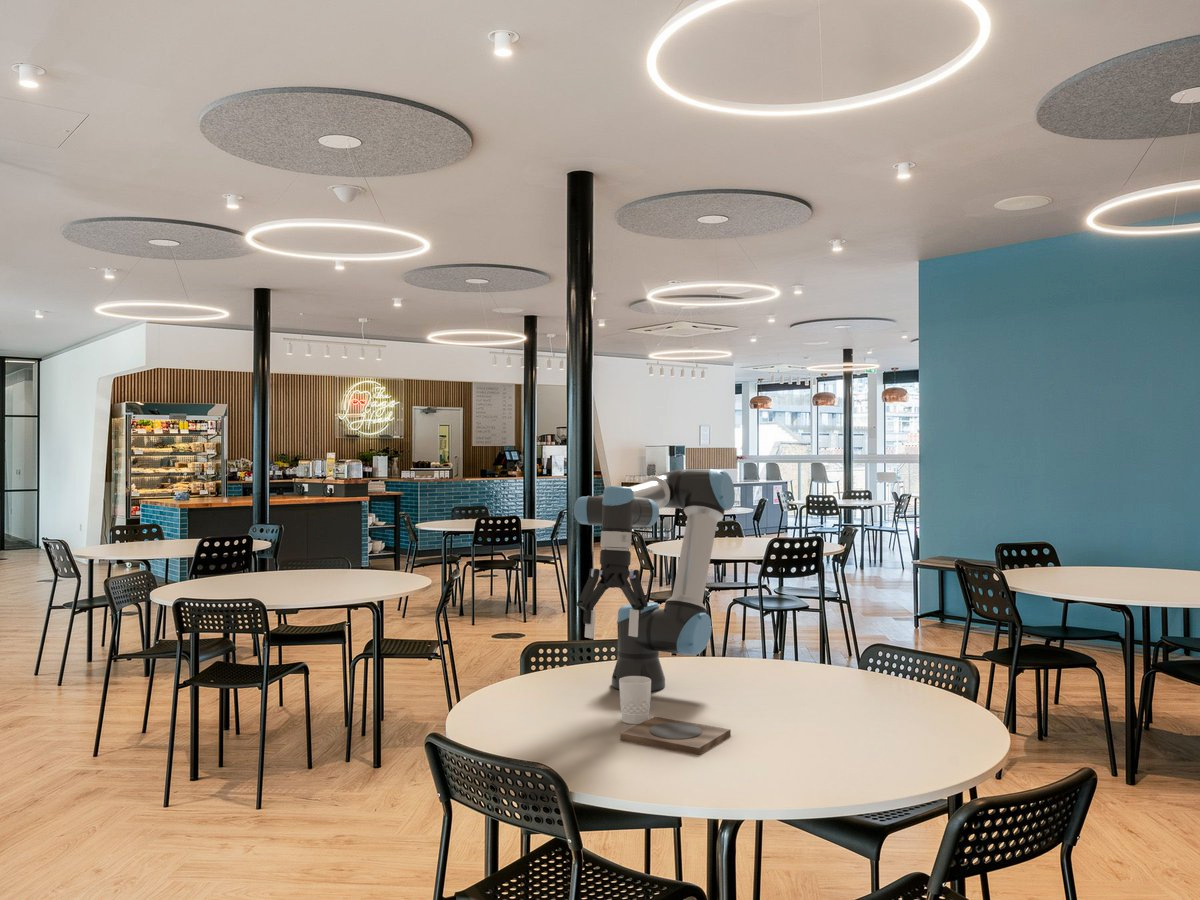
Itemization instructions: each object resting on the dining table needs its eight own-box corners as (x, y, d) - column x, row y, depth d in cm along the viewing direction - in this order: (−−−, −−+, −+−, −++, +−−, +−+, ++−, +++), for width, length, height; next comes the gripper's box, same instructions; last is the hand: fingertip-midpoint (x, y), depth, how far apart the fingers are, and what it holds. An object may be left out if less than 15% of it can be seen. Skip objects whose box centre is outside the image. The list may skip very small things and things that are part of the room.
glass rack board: (655, 722, 217) (655, 715, 217) (730, 736, 206) (730, 728, 206) (620, 739, 204) (620, 731, 204) (699, 755, 193) (698, 746, 193)
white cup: (629, 714, 224) (628, 674, 224) (657, 718, 220) (656, 678, 220) (613, 722, 217) (613, 681, 218) (641, 727, 213) (641, 685, 214)
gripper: (584, 548, 209) (579, 640, 207) (663, 551, 224) (660, 637, 222) (565, 547, 215) (560, 636, 213) (644, 550, 230) (640, 633, 228)
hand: (611, 637), depth 217 cm, fingers open, 13 cm apart
